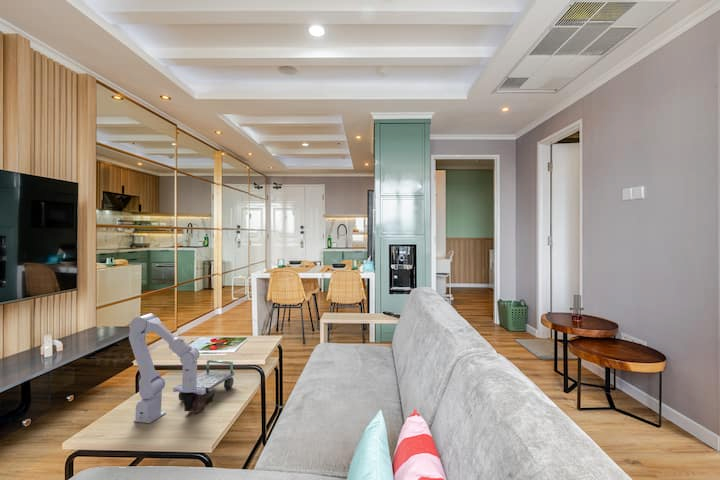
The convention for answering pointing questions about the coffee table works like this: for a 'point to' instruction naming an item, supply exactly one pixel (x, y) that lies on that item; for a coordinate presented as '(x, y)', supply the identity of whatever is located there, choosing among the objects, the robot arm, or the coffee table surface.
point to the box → (198, 403)
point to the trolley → (213, 380)
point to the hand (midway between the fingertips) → (188, 409)
